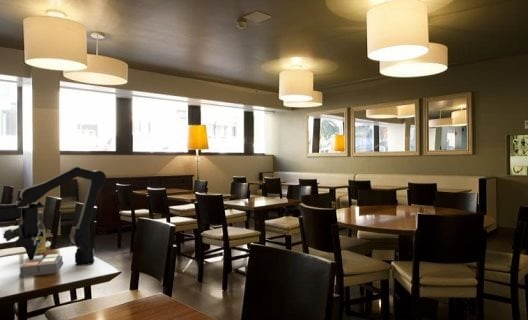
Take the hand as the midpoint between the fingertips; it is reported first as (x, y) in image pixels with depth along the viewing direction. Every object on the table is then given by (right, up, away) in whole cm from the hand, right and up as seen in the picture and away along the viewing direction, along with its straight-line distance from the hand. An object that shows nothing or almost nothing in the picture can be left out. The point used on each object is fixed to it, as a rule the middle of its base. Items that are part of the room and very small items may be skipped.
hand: (31, 259), depth 143 cm
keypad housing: (+2, -5, +4) cm, 7 cm away
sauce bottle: (-12, -5, +24) cm, 28 cm away
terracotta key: (0, -4, 0) cm, 4 cm away
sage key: (+4, -2, +8) cm, 9 cm away
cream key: (+6, -2, +2) cm, 7 cm away
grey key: (-2, -2, +6) cm, 7 cm away
